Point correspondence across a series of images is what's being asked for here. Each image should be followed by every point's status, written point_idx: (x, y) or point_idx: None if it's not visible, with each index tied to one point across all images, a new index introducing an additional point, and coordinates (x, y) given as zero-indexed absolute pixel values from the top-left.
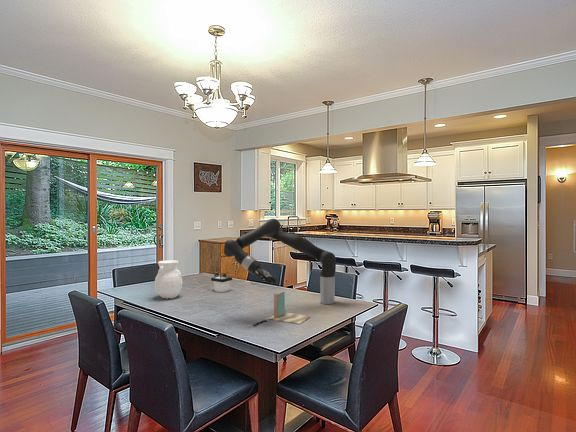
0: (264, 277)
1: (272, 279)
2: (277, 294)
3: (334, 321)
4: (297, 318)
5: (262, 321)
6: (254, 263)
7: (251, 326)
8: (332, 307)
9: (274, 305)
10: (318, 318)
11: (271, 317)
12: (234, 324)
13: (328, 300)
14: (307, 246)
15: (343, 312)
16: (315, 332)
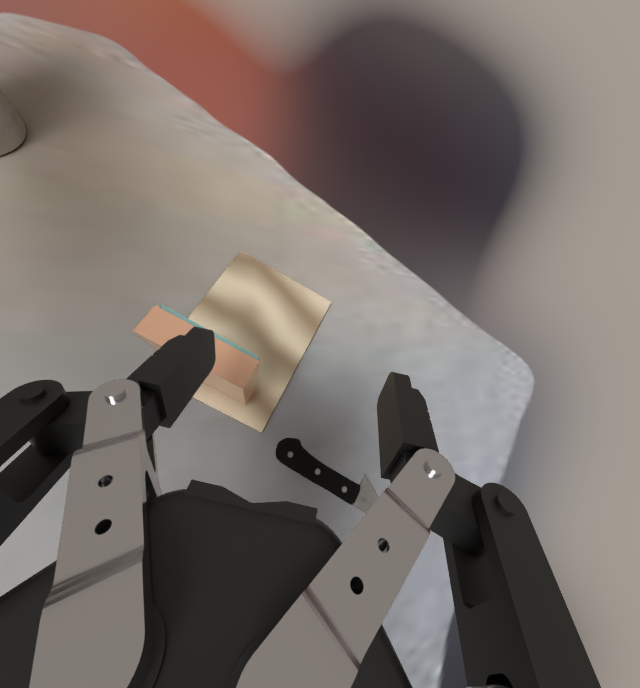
0: (465, 491)
1: (184, 381)
2: (256, 360)
3: (294, 191)
4: (269, 302)
5: (298, 459)
6: None
7: (364, 503)
8: (91, 141)
9: (246, 395)
10: (257, 229)
11: (248, 418)
12: None
13: (9, 116)
14: None
15: (183, 133)
16: (400, 267)
